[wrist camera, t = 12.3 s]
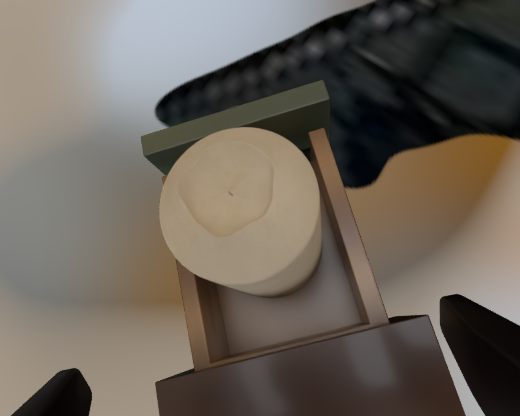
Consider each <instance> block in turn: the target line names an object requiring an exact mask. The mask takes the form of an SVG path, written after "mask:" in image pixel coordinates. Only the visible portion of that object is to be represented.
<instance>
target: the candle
mask: <svg viewBox="0 0 520 416" xmlns="http://www.w3.org/2000/svg"><path fill="white" fill-rule="evenodd" d="M159 216H160V225H161V230H162V233H163V236H164V239H165V241H166V243H167V245H168V247H169V249H170V250H171V252H172V253H173V255H174V256H175V258H176V259H177V260H178V261H179V262H180V263H181V264H182V265H183V266H184V267H186V268H187V269H188V270H189V271H191V272H192V273H194V274H196V275H197V276H199V277H201V278H204V279H206V280H209V281H212V282H215V283H218V284H221V285H224V286H227V287H230V288H233V289H236V290H239V291H242V292H245V293H248V294H251V295H255V296H258V297H264V298H277V297H283V296H286V295H289V294H291V293H294V292H296V291H297V290H299V289H300V288H302V287H303V286H304V285H305V284H306V283H307V282H308V281H309V280H310V279H311V278H312V276H313V275H314V273H315V272H316V270H317V268H318V265H319V263H320V259H321V255H322V229H321V210H320V194H319V187H318V182H317V178H316V176H315V173H314V170H313V168H312V166H311V165H310V163H309V161H308V160H307V158H306V157H305V155H304V154H303V153H302V152H301V151H300V150H299V149H298V148H297V147H296V146H295V145H294V144H293V143H291V142H290V141H289V140H287V139H285V138H284V137H282V136H280V135H278V134H276V133H273V132H271V131H267V130H264V129H259V128H252V127H239V128H231V129H226V130H222V131H219V132H216V133H213V134H211V135H209V136H207V137H205V138H203V139H201V140H200V141H198V142H197V143H195V144H194V145H193V146H191V147H190V148H189V149H188V150H187V151H186V152H185V153H184V154H183V155H182V156H181V157H180V158H179V159H178V160H177V162H176V163H175V164H174V166H173V167H172V169H171V170H170V172H169V174H168V176H167V178H166V180H165V183H164V186H163V189H162V193H161V198H160V206H159Z"/></svg>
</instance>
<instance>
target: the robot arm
mask: <svg viewBox="0 0 520 416" xmlns="http://www.w3.org/2000/svg"><path fill="white" fill-rule="evenodd" d="M440 326H441V330H442V333H443V335H444V337H445V339H446V341H447V343H448V345H449V347H450V349H451V351H452V353H453V355H454V358H455V359H456V362H457V364H458V366H459V368H460V370H461V372H462V374H463V376H464V378H465V380H466V382H467V384H468V386H469V388H470V390H471V392H472V394H473V396H474V397H475V399H476V401H477V403H478V404H479V406H480V407H481V409H482V411H483V413H484V414H485V416H520V326H519V325H517V324H515V323H513V322H512V321H509V320H508V319H506V318H504V317H502V316H500V315H498V314H496V313H494V312H492V311H491V310H489V309H487V308H485V307H483V306H481V305H479V304H477V303H475V302H473V301H471V300H469V299H468V298H466V297H464V296H462V295H459V294H454V295H449V296H444V297H442V298H441V299H440ZM91 401H92V392H91V389H90V387H89V386H88V384H87V382H86V381H85V379H84V377H83V375H82V374H81V372H80V371H79V370H78V369H76V368H72V369H67V370H62V371H60V372H58V373H57V374H56V375H55V376H54V377H53V378H51V379H50V380H49V381H48V382H47V383H46V384H45V385H44V386H43V387H42V388H41V389H39V390H38V391H37V392H36V393H35V394H34V395H33V396H32V397H31V398H30V399H29V400H28V401H26V402H25V403H24V404H23V405H22V406H21V407H20V408H19V409H18V410H17V411H16V412H14V413H13V414H12V415H11V416H89V411H90V406H91Z"/></svg>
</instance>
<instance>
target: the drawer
mask: <svg viewBox="0 0 520 416" xmlns="http://www.w3.org/2000/svg"><path fill="white" fill-rule="evenodd" d="M329 113H330V98H329V95H328V92H327V89H326V86H325V83H324V81H323V80H320V81H317V82H314V83H311V84H307V85H304V86H301V87H298V88H295V89H291V90H288V91H285V92H282V93H279V94H275V95H272V96H269V97H266V98H263V99H259V100H256V101H253V102H250V103H247V104H243V105H235V106H231V107H229V108H227V109H226V110H224V111H221V112H218V113H214V114H211V115H208V116H205V117H202V118H198V119H195V120H192V121H189V122H186V123H182V124H179V125H176V126H173V127H170V128H166V129H163V130H160V131H157V132H154V133H150V134H147V135H144V136H141V142H142V148H143V154H144V156H145V157H146V158H147V159H148V160H149V161H150V162H151V163H152V164H153V165H155V166H156V167H157V168H158V169H159V170H160V171H161V172H162V173H163V174H165V175H166V176H163V177H162V180H163V186H164V183H165V180H166V178H167V176H168V174H169V172H170V170H171V169H172V167H173V166H174V164H175V163H176V162H177V160H178V159H179V158H180V157H181V156H182V155H183V154H184V153H185V152H186V151H187V150H188V149H189V148H190V147H191V146H193V145H194V144H195V143H197V142H198V141H200V140H201V139H203V138H205V137H207V136H209V135H211V134H213V133H216V132H219V131H222V130H226V129H231V128H239V127H252V128H259V129H264V130H267V131H271V132H273V133H276V134H278V135H280V136H282V137H284V138H285V139H287V140H289V141H290V142H291V143H293V144H294V145H295V146H296V147H297V148H298V149H299V150H303V149H307V148H310V155H311V161H310V162H309V163H310V165H311V166H312V168H313V170H314V173H315V176H316V178H317V182H318V187H319V194H320V210H321V229H322V255H321V259H320V263H319V265H318V268H317V270H316V272H315V273H314V275H313V276H312V278H311V279H310V280H309V281H308V282H307V283H306V284H305V285H304V286H303V287H302V288H300V289H299V290H297V291H296V292H294V293H291V294H289V295H286V296H283V297H277V298H264V297H258V296H255V295H251V294H248V293H245V292H242V291H239V290H236V289H233V288H230V287H227V286H224V285H221V284H218V283H215V282H212V281H209V280H206V279H204V278H201V277H199V276H197V275H196V274H194V273H192V272H191V271H189V270H188V269H187V268H186V267H184V266H183V265H182V264H181V263H180V262H179V261H178V260H177V259H176V263H177V269H178V275H179V281H180V286H181V292H182V299H183V305H184V311H185V316H186V323H187V329H188V334H189V340H190V346H191V352H192V358H193V364H194V370H195V371H199V370H203V369H207V368H211V367H215V366H219V365H223V364H227V363H231V362H235V361H239V360H243V359H247V358H251V357H255V356H259V355H263V354H267V353H271V352H275V351H279V350H283V349H287V348H291V347H295V346H299V345H303V344H307V343H311V342H315V341H319V340H323V339H327V338H331V337H335V336H339V335H343V334H347V333H351V332H356V331H360V330H364V329H368V328H372V327H376V326H380V325H384V324H388V323H390V322H389V319H388V316H387V313H386V310H385V308H384V304H383V302H382V299H381V296H380V293H379V290H378V287H377V284H376V281H375V278H374V275H373V272H372V269H371V266H370V263H369V260H368V257H367V254H366V251H365V248H364V245H363V242H362V239H361V236H360V233H359V231H358V227H357V224H356V222H355V218H354V216H353V213H352V210H351V206H350V204H349V201H348V198H347V195H346V192H345V189H344V186H343V183H342V180H341V177H340V174H339V171H338V168H337V165H336V162H335V159H334V156H333V153H332V150H331V147H330V144H329Z"/></svg>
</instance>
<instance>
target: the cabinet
mask: <svg viewBox="0 0 520 416" xmlns="http://www.w3.org/2000/svg"><path fill="white" fill-rule="evenodd" d="M388 319H389V322H390V323H388V324H384V325H380V326H376V327H372V328H368V329H364V330H360V331H356V332H351V333H347V334H343V335H339V336H335V337H331V338H327V339H323V340H319V341H315V342H311V343H307V344H303V345H299V346H295V347H291V348H287V349H283V350H279V351H275V352H271V353H267V354H263V355H259V356H255V357H251V358H247V359H243V360H239V361H235V362H231V363H227V364H223V365H219V366H215V367H211V368H207V369H203V370H199V371H195V370H194V368H193V369H190V370H188V371H185V372H182V373H180V374H177V375H174V376H171V377H168V378H166V379H163V380H160V381H157V382H156V383H155V385H156V392H157V400H158V407H159V414H160V416H466V415H465V413H464V410H463V407H462V404H461V402H460V399H459V396H458V394H457V391H456V388H455V386H454V383H453V380H452V378H451V375H450V372H449V370H448V367H447V364H446V361H445V359H444V356H443V353H442V351H441V348H440V345H439V342H438V340H437V337H436V335H435V332H434V329H433V326H432V324H431V321H430V318H429V316H428V315H411V316H395V317H392V318H388Z"/></svg>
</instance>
